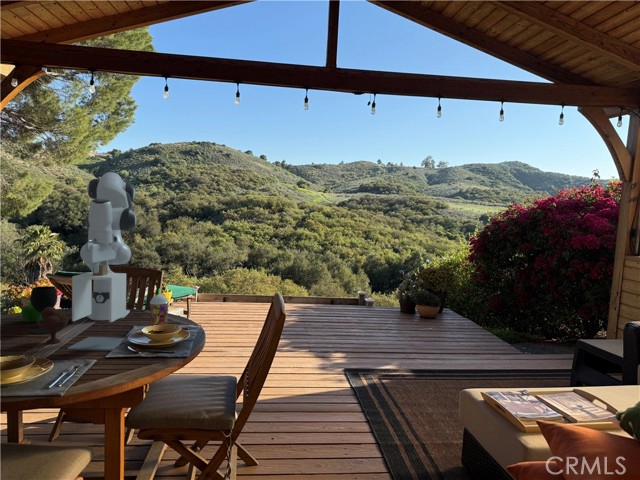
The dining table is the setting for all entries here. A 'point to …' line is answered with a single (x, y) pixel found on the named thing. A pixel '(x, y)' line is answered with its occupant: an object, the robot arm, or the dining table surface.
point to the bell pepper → (30, 313)
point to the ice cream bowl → (52, 323)
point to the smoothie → (159, 309)
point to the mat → (97, 344)
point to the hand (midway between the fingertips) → (100, 272)
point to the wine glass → (42, 301)
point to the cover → (84, 293)
